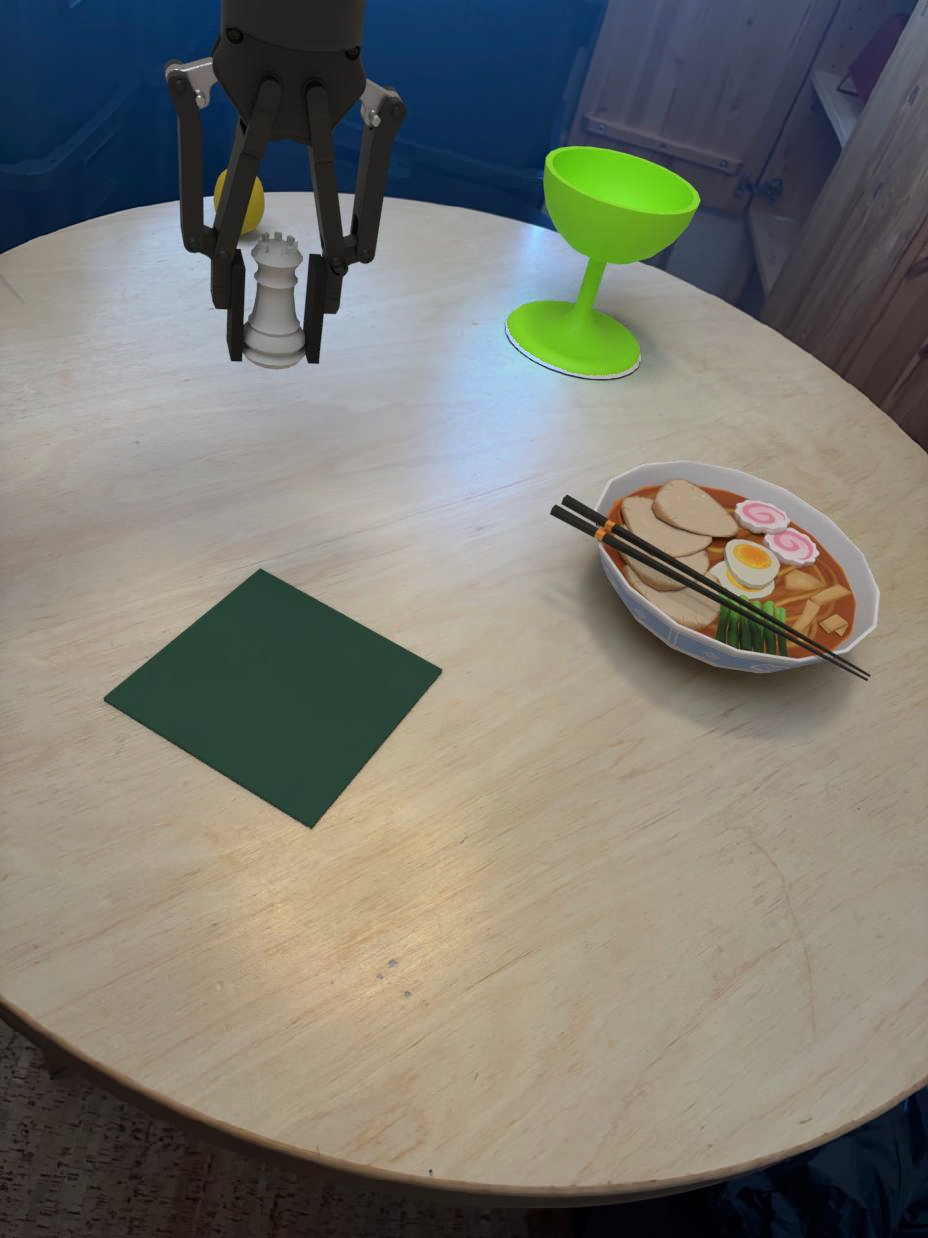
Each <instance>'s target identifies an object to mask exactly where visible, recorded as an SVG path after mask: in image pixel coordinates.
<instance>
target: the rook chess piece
mask: <svg viewBox="0 0 928 1238" xmlns="http://www.w3.org/2000/svg"><path fill="white" fill-rule="evenodd" d="M273 234H274V235H273V238H270V236H271V234H270V233H269V232H268V231H265V232H262V233H261V234H260V236H259V235H258V236H257V241H256V242H257V243H256V244H255V246H254V247H253V248H252V249H251V251H250V256H251V257H252V258H253V260H254V261H255V263H256V264H257V270H256V271H255V272H254V273H253V278H254V280H255V281H256V292H255V298H254V304H253V307H252V311H251V312H250V313H249V314H248V317H247V321H246V322H244V327H243V354H242V355H243V356H244V357H245V358H246V359H247V361H249V362H250V363H252V364H253V365H255V366H258V367H260V368H264V369H266V370H267V369H268V370H277V371H278V370H285V369H286V370H287V369H290V368H292V367H294V366H297V364H299V363H300V362H301V360H302V359H303V358H305V357H306V355H305V347H304V346H303V345H304V344H305V334H304V331H303V327H301V321H300V320H299V318H298V316H297V313H296V303H295V301H296V300H295V286H297V284H298V283H299V278H298V276H297V275H296V269H297V268H298V267H299V266H300V265H301V264H302V263H303V262H304V256H303V254H302V253H301V252H300V250H299V241H296V238H295V237H294V236H293V235H291V234H289V235H287V236H286V240H284V239H283V232H282V231H281V232H280V231H274V232H273Z"/></svg>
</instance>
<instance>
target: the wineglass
mask: <svg viewBox="0 0 928 1238" xmlns="http://www.w3.org/2000/svg"><path fill="white" fill-rule="evenodd" d="M544 161H545V162H544V171H543V176H542V177H543V178H542V181H543V184H542V185H543V193H544V202H545V207H546V210H547V212H548V215H549V217H550V219H551V221H552V224H553V226H554V228H555V230H556V231H557V233H558V234H559V235H560V236H561V237H562V238H563V240H564V241H565V242H566V244H567V245H568V246H570V247H571V248H572V249H573V250H574V251H576V252H577V253H579V254H581V255H583V256H585V257H587V258H588V262H587V264H586V268H585V271H584V275H583V278H582V281H581V285H580V288H579V292H578V294H577V298H576V301H575V302H570V301H564V300H551V299H549V300H546V299H545V300H535V301H531V302H528V303H523V304H522V305H520V306H519V307H516V308H515V309H513V310H512V311H511V312H512V313H511V312H510V313H511V314H510V313H509V315H510V316H509V315H508V316H509V317H507V318H506V320H507V326H508V327H507V328H508V329H509V332H510V335H511V336H512V337H513V339H515V341H516V342H517V343H519V346H520V347H522V348H523V349H524V350H525V351H527V352H529V353H530V354H531V355H533V356H535V357H536V358H539V359H540V360H541V361H543V362H546V363H548V364H551V365H554V366H555V367H558V368H561V369H563V370H566V371H567V372H571V373H577V374H583V375H587V376H588V375H593V376H594V375H595V376H596V375H601V376H602V375H603V376H604V375H606V376H607V375H609V374H611V375H612V374H618V373H621V372H624V371H626V370H628V369H630V368H631V367H633V365H635V363H637V361H638V358H639V355H640V354H641V355H642V352H640V350H641V347H640V348H639V346H640V344H639V342H638V340H637V339H636V337H635V335H634V334H633V333H632V332H631V331H630V330H629V329H628V328H626V327H625V325H623V324H622V323H621V322H620V321H618V320H617V319H615V318H613V317H612V316H610V315H608V314H607V313H605V312H604V313H603V312H602V311H600V310H597V309H594V304H595V302H596V299H597V295H598V292H599V289H600V286H601V282H602V279H603V276H604V273H605V271H606V266H607V264H613V265H628V264H632V263H636V262H637V263H638V262H639V261H644V260H647V259H650V258H652V257H654V256H656V255H657V254H658V253H660V252H661V251H663V250H664V249H666V248H667V247H669V246H671V245H672V244H675V241H676V240H678V238H679V237H680V236H681V235H682V234H683V233H684V231H686V229H687V228H688V227H689V225H690V224H691V222H692V219H693V218H694V215H695V214H696V213H697V210H698V208H699V205H700V203H701V198H700V194H699V192H698V191H697V190H696V189H695V187H694V186H693V185H692V184H691V183H690V182H688V181H687V180H686V179H684V178H683V177H682V176H680V175H679V174H677V173H675V172H673V171H671V170H669V169H668V168H666V167H664V166H662V165H659V164H657V163H655V162H653V161H650V160H647V159H645V158H641V157H639V156H635V155H633V154H629V153H627V152H626V153H625V152H622V151H618V150H613V149H609V148H601V147H595V146H581V145H580V146H579V145H578V146H577V145H573V146H572V145H571V146H565V147H558V148H556V149H554V150H552V151H551V150H550V152H549V153H548V154H547V155H546V157H545V160H544ZM638 344H639V345H638Z"/></svg>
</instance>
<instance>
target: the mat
mask: <svg viewBox="0 0 928 1238" xmlns="http://www.w3.org/2000/svg"><path fill="white" fill-rule="evenodd" d="M442 672H443V668H441V667H439V666H438V665H436V664H434V663H432V662H430V661H429V660H426V659H425V658H423V657H422V656H419V655H418V654H416V653H414V652H412V651H410V650H408V649H407V648H405V647H403V646H401V645H400V644H399V643H396V642H394V641H392V640H391V639H388V638H387V637H386V636H383V635H382V634H380V633H378V632H376V631H374V630H373V629H371V628H369V627H368V626H366V625H364V624H362V623H360V622H358V621H356V620H355V619H353V618H352V617H349V616H348V615H346V614H345V613H342V612H340V611H338V610H337V609H335V608H334V607H332V606H330V605H328V604H326V603H324V602H322V601H321V600H319V599H317V598H315V597H313V596H312V595H310V594H308V593H307V592H304V591H303V590H301V589H299V588H297V587H296V586H293V585H292V584H290V583H288V582H286V581H285V580H282V578H279V577H277V576H276V575H274V574H272V573H270V572H268V571H267V570H265V569H263V568H261V567H260V568H258V569H257V570H256V571H255V572H253V573H252V574H251V575H250V576H249V577H248V578H246V579H245V580H244V581H243V582H241V583H240V584H239V585H238V586H237V587H236V588H234V589H233V590H232V591H231V592H230V593H228V594H227V595H226V596H224V598H222V599H221V600H220V601H218V602H217V603H216V604H215V605H214V606H212V607H210V609H209V610H207V611H206V612H205V613H204V614H203V615H201V616H200V617H199V618H198V619H196V620H195V621H194V622H192V624H190V626H188V627H187V628H186V629H185V630H183V631H182V632H181V633H180V634H178V635H177V636H176V637H175V638H174V639H172V640H171V641H170V642H168V643H167V644H166V645H165V646H164V647H162V648H161V649H160V650H159V651H158V652H156V653H155V654H154V655H153V656H152V657H150V658H149V659H148V660H147V661H146V662H145V663H143V664H142V665H141V666H140V667H139V668H137V669H136V670H134V671H133V672H132V673H131V674H130V675H129V676H128V677H126V678H125V679H124V680H123V681H122V682H120V683H119V684H118V685H117V686H116V687H114V688H113V689H112V690H110V691H109V692H108V693H107V694H105V696H103V701H104V702H106V703H107V704H108V705H110V706H112V707H113V708H115V709H116V710H119V711H120V712H121V713H123V714H125V715H127V716H128V717H130V718H131V719H133V720H135V722H138V723H139V724H141V725H142V726H145V728H148V729H149V730H151V731H152V732H154V733H156V734H157V735H159V736H161V737H162V738H163V739H165V740H167V741H169V743H171V744H173V745H174V746H177V747H178V748H180V749H182V750H183V751H184V752H186V753H188V754H189V755H191V756H192V757H194V758H196V759H197V760H199V761H200V762H201V763H203V764H206V765H207V766H209V767H210V768H212V769H213V770H215V771H217V772H218V773H219V774H222V775H223V776H225V777H226V778H228V779H230V780H232V781H233V782H234V783H236V784H238V785H239V786H240V787H242V788H244V789H246V790H247V791H249V792H251V793H252V794H253V795H255V796H257V797H259V798H260V799H262V800H263V801H265V802H266V803H268V804H270V805H271V806H273V807H275V808H276V809H277V810H279V811H281V812H282V813H284V814H286V815H288V816H289V817H291V818H292V819H294V820H295V821H297V822H299V823H300V822H301V823H300V824H302V825H304V826H305V825H306V826H305V827H307V828H308V827H310V828H312V829H313V828H314V827H315V825H316V824H317V823H318V821H320V820H321V818H322V817H323V816H324V814H326V812H327V811H328V810H329V809H330V807H331V806H332V805H333V804H334V803H335V801H336V800H337V799H338V798H339V796H340V795H341V794H342V793H343V792H344V791H345V789H346V788H347V787H348V786H349V785H350V783H352V781H353V780H354V778H355V777H356V776H357V775H358V774H359V773H360V771H361V770H362V769H363V768H364V767H365V765H366V764H367V763H368V762H369V760H370V759H372V757H373V755H375V753H376V752H377V751H378V750H379V749H380V747H381V746H382V745H383V743H384V742H385V741H386V740H387V738H388V737H389V736H390V735H391V734H392V733H393V731H394V730H395V729H396V728H397V727H398V726H399V724H400V723H401V722H402V721H403V719H405V717H406V716H407V715H408V714H409V712H410V711H412V709H413V708H414V707H415V705H416V704H417V703H418V701H419V700H420V699H421V698H422V697H423V695H425V693H426V692H427V691H428V689H430V687H431V686H432V685H433V683H434V682H435V681H436V680H437V678H438V677H439V676H440V675H441V674H442ZM361 768H362V769H361ZM356 774H357V775H356ZM351 780H352V781H351ZM346 786H347V787H346ZM326 810H327V811H326ZM325 811H326V812H325ZM321 816H322V817H321ZM315 823H316V824H315ZM310 828H309V829H310Z"/></svg>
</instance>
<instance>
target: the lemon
mask: <svg viewBox="0 0 928 1238" xmlns="http://www.w3.org/2000/svg"><path fill="white" fill-rule="evenodd" d="M227 169H228V168H226V169H224V170H223V171H222V172H221V173H220V175H219V176H218V178H217V181H216V183H215V186H214V192H213V207H214V210H215V213H216V212H217V208H218V204H219V200H220V196H221V192H222V188H223V184H224V181H225V177H226V173H227ZM265 205H266V201H265V192H264V187H263V184H262V181H261V180H260V178H259V177H258V175H257V176H256V180H255V183H254V187H253V191H252V194H251V198H250V202H249V205H248V209H247V212H246V216H245V220H244V223H243V227H242V231H241V234H240V237H242V236H243V235H245V234H246V233H250V232H252V231H253V230H254V229H256V228H257V227H259V225H260V223H261V222H262V220H263V216H264V213H265Z"/></svg>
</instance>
